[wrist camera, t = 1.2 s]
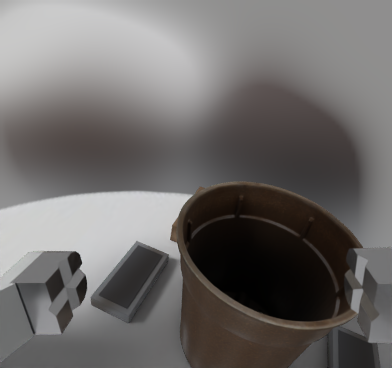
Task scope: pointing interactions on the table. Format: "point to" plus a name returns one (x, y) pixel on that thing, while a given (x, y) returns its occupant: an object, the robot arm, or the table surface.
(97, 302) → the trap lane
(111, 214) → the table surface
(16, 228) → the table surface
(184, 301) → the plant pot
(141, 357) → the table surface
